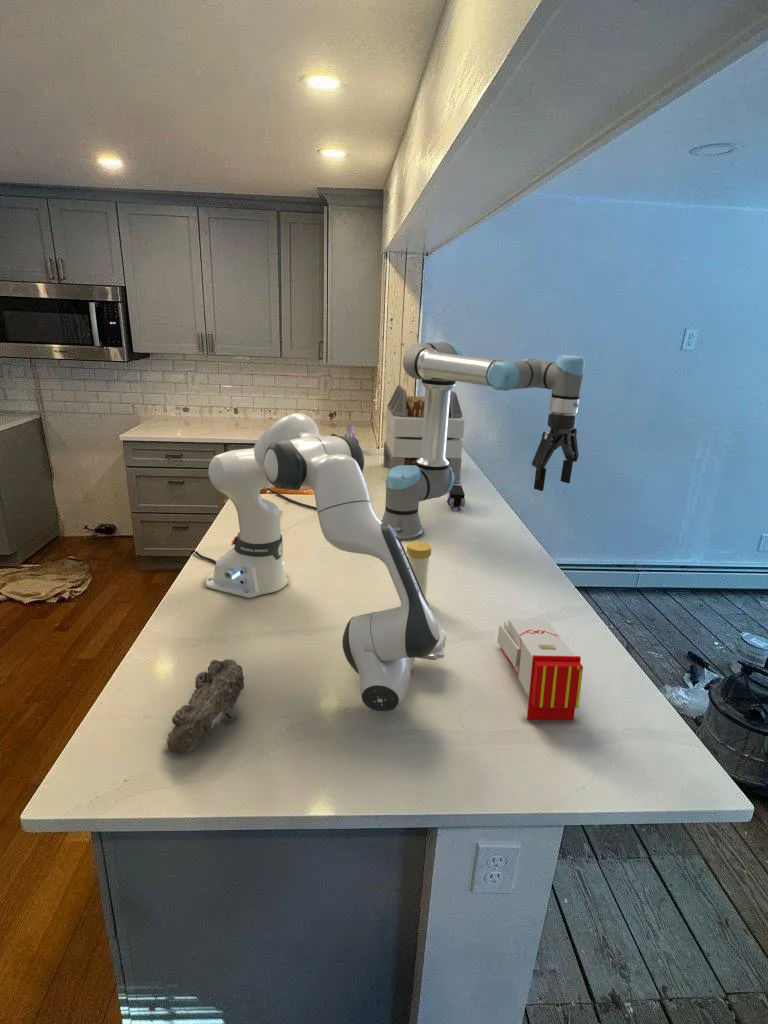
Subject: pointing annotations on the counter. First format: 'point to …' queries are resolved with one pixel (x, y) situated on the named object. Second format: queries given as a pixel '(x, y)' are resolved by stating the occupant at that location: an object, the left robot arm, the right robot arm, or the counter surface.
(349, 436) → the figurine
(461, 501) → the figurine character
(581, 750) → the counter surface
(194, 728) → the fossil
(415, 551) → the lid
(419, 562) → the jar
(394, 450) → the white slatted box
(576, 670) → the toy
